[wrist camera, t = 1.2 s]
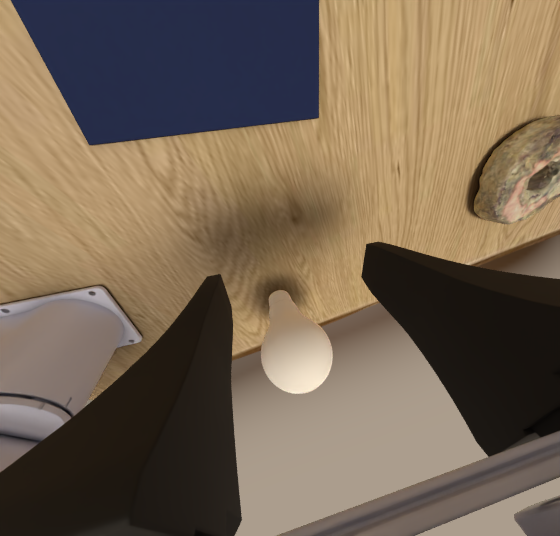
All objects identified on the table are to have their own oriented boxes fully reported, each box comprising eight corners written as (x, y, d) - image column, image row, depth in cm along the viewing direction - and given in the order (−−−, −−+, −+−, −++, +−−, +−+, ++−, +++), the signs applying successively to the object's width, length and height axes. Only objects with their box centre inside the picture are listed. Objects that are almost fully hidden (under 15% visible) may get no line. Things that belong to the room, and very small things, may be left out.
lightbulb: (245, 310, 24) (256, 411, 15) (261, 268, 21) (285, 361, 12) (291, 315, 26) (323, 407, 17) (310, 278, 24) (360, 363, 15)
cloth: (91, 145, 13) (89, 145, 13) (-41, -102, 9) (-49, -109, 8) (317, 118, 15) (318, 117, 15) (317, -97, 10) (319, -103, 10)
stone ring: (536, 200, 25) (578, 99, 19) (576, 209, 22) (641, 92, 16) (456, 230, 25) (475, 139, 19) (485, 242, 22) (518, 139, 16)
